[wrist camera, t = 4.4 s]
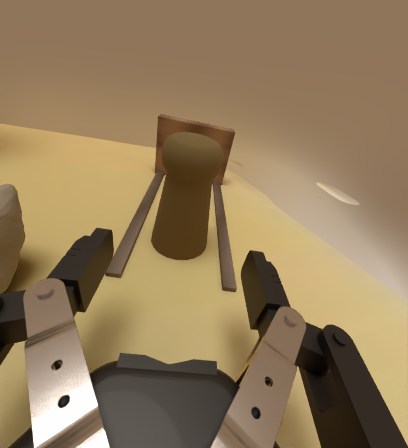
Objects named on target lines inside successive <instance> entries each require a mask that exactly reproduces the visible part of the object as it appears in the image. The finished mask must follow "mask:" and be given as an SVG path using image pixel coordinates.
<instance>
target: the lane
mask: <svg viewBox="0 0 408 448" xmlns="http://www.w3.org/2000/svg"><path fill="white" fill-rule="evenodd" d="M178 132H191V133H197V134H201V135H204V136H207V137H209V138H211V139H213V140H215V141H217V142H218V143H219V144H220V146H221V148H222V151H223V163H222V167H221V169H220V171H219V173H218V175H217V176H216V177H215V178H214V179H213V180H212V183H213V190H214V201H215V212H216V224H217V235H218V246H219V257H220V269H221V280H222V290H226V291H234V292H236V289H237V287H236V281H235V275H234V268H233V262H232V256H231V249H230V243H229V237H228V230H227V224H226V218H225V211H224V205H223V199H222V192H221V186H220V185H222V181H223V177H224V173H225V170H226V166H227V162H228V158H229V154H230V150H231V146H232V142H233V139H234V135H235V132H234V130H233V129H228V128H223V127H218V126H214V125H209V124H204V123H200V122H195V121H190V120H186V119H181V118H176V117H171V116H167V115H160V116H158V129H157V145H156V162H155V173H156V175H155V177H154V179H153V181H152V182H151V184H150V186H149V188H148V190H147V192H146V194H145V196H144V198H143V200H142V202H141V204H140V206H139V208H138V210H137V212H136V214H135V216H134V217H133V219H132V221H131V223H130V225H129V227H128V229H127V231H126V233H125V235H124V237H123V239H122V241H121V243H120V245H119V247H118V249H117V251H116V253H115V254H114V256H113V258H112V260H111V262H110V264H109V266H108V268H107V270H106V272H105V274H106V276H113V277H121V275H122V273H123V270H124V268H125V265H126V263H127V261H128V258H129V256H130V254H131V251H132V249H133V247H134V244H135V242H136V240H137V237H138V235H139V232H140V230H141V228H142V225H143V223H144V221H145V218H146V216H147V214H148V211H149V209H150V207H151V204H152V202H153V199H154V197H155V195H156V192H157V190H158V188H159V185H160V183H161V181H162V178H163V176H164V175H166V173H167V171H166V169H165V168H164V166H163V163H162V148H163V145H164V142H165V140H166V139H167V137H168V136H169V135H171V134H174V133H178Z"/></svg>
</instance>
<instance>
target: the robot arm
mask: <svg viewBox="0 0 408 448" xmlns="http://www.w3.org/2000/svg"><path fill="white" fill-rule="evenodd" d="M113 252H114V248H113V234H112V230H108V229H102V228H96V229H95V230H94V232H93V233H92V234H91V236H83V237H82V238H80V239H78V240H77V241H76V242H75V243H74V244H73V245H72V247H71V248H70V250H68V252H67V253H66V255H65V256H64V257H63V258H62V259H61V261H60V262H59V263H58V264H57V266H56V267H55V268H54V269H53V271H52V272H51V273H50V274H49V276H48V277H47V278H46V279H44V280H41V281H38V282H36V283H34V284H33V285H31V286H30V287H29V288H28V289H27V290H24V291H18V292H11V293H3V294H0V365H1V363H2V362H3V360H4V359H5V357H6V356H7V354H8V353H9V351H10V350H11V348H12V346H13V345H14V343H17V342H22V341H26V340H28V341H27V342H25V359H26V369H27V379H28V390H29V400H30V410H31V421H32V426H31V427H30V428H29V429H28V430H27V431H26V432H25V433H24V434H23V435H22V436H20V437H19V438H18V439H17V440H16V441H15V442H14V443H13V444H12V445H11V446H10V447H8V448H280V447H279V446H278V444H277V443H276V441H275V439H276V436H277V433H278V429H279V426H280V423H281V420H282V417H283V413H284V410H285V407H286V404H287V401H288V397H289V394H290V391H291V388H292V385H293V381H294V378H295V375H296V371H297V366H298V367H299V370H300V373H301V377H302V381H303V384H304V388H305V391H306V395H307V398H308V402H309V406H310V409H311V413H312V416H313V420H314V423H315V427H316V430H317V434H318V438H319V441H320V445H321V448H408V446H407V444H406V442H405V440H404V438H403V436H402V434H401V432H400V430H399V428H398V427H397V425H396V423H395V421H394V419H393V417H392V415H391V413H390V411H389V409H388V407H387V405H386V403H385V402H384V400H383V398H382V396H381V394H380V392H379V390H378V388H377V386H376V384H375V382H374V380H373V378H372V377H371V375H370V373H369V371H368V369H367V367H366V365H365V363H364V361H363V359H362V357H361V355H360V353H359V352H358V350H357V348H356V346H355V344H354V342H353V340H352V339H351V337H350V336H349V335H348V334H347V333H346V332H345V331H344V330H343V329H341V328H339V327H337V326H335V325H326V326H325V327H324V328H323V329H321V328H318V327H316V326H314V325H311V324H309V323H307V322H305V320H304V319H303V317H302V316H301V315H300V313H298V312H297V311H296V310H294V309H293V308H291V307H290V304H289V302H288V299H287V296H286V294H285V291H284V288H283V286H282V284H281V281H280V278H279V275H278V273H277V270H276V268H275V267H274V266H273V265H272V263H271V262H268V261H266V259H265V256H264V253H263V252H258V251H252V250H250V251H249V253H248V255H247V257H246V260H245V262H244V264H243V267H242V270H241V280H242V286H243V291H244V296H245V301H246V307H247V312H248V317H249V323H250V328H251V329H253V330H258V333H259V338H258V340H257V342H256V344H255V346H254V348H253V350H252V351H251V353H250V355H249V357H248V359H247V361H246V363H245V365H244V366H243V368H242V370H241V372H240V373H239V375H238V376H237V378H236V380H235V381H234V380H233V379H232V378H231V377H230V376H228V375H227V374H226V373H224V372H222V371H221V370H218V369H217V361H206V360H195V359H193V360H189V361H184V362H179V363H175V364H166V363H163V362H161V361H158V360H156V359H153V358H151V357H148V356H146V355H137V354H125V353H120V356H119V359H118V361H113V362H110V363H107V364H105V365H103V366H101V367H99V368H97V369H96V370H94V371H93V372H91V373H89V370H88V366H87V363H86V359H85V356H84V352H83V349H82V345H81V341H80V338H79V334H78V331H77V327H76V323H75V320H74V316H75V314H76V312H85V311H86V310H87V308H88V306H89V304H90V302H91V300H92V298H93V296H94V294H95V292H96V290H97V288H98V286H99V284H100V282H101V280H102V278H103V276H104V274H105V272H106V270H107V268H108V266H109V264H110V262H111V260H112V258H113Z"/></svg>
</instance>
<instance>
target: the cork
mask: <svg viewBox="0 0 408 448" xmlns="http://www.w3.org/2000/svg"><path fill="white" fill-rule="evenodd" d="M162 163H163V166H164V168H165V169H166V171H167V173H166V178H165V182H164V186H163V191H162V195H161V199H160V203H159V208H158V212H157V216H156V220H155V225H154V229H153V233H152V239H151V242H152V244H153V247H154V248H155V249H156V250H157V251H158V252H159V253H160V254H162V255H164V256H166V257H169V258H172V259H178V260H187V259H192V258H195V257H197V256H199V255H201V254H202V253H203V251H204V250H205V248H206V243H207V232H208V221H209V209H210V198H211V186H212V180H213V179H214V178H215V177H216V176H217V175H218V173H219V171H220V169H221V167H222V163H223V151H222V148H221V146H220V144H219V143H218V142H217V141H215V140H213V139H211V138H209V137H207V136H204V135H201V134H197V133H191V132H178V133H174V134H171V135H169V136H168V137H167V139H166V140H165V142H164V145H163V148H162Z"/></svg>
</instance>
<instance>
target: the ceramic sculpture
mask: <svg viewBox="0 0 408 448" xmlns="http://www.w3.org/2000/svg"><path fill="white" fill-rule="evenodd" d="M24 240H25V232H24V225H23V222H22V211H21V207H20V203H19V199H18V193H17V190H16V189H15V187H14V186H13V185H11V184H4V185H1V186H0V294H2V293H4V292H5V290H6V289H7V288H8V287H9V285H10V282H11V280H12V278H13V276H14V274H15V272H16V269H17V267H18V264H19V256H20V250H21V248H22V245H23V243H24Z"/></svg>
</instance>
